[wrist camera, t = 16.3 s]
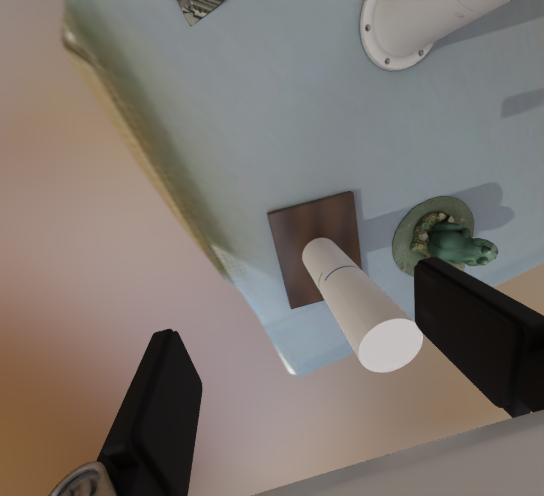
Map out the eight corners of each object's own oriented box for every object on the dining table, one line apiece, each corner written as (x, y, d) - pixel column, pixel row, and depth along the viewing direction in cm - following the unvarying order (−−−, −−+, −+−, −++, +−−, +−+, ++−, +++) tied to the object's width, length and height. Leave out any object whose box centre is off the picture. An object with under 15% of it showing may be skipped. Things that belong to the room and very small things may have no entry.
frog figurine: (457, 276, 58) (507, 305, 48) (383, 277, 56) (418, 308, 45) (485, 198, 52) (550, 211, 41) (403, 194, 50) (449, 207, 39)
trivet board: (349, 191, 48) (353, 192, 47) (360, 285, 56) (363, 289, 55) (266, 213, 47) (267, 215, 46) (289, 305, 55) (291, 309, 54)
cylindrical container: (345, 251, 51) (435, 338, 28) (321, 277, 52) (388, 381, 29) (318, 230, 48) (393, 306, 25) (294, 258, 50) (344, 355, 27)
